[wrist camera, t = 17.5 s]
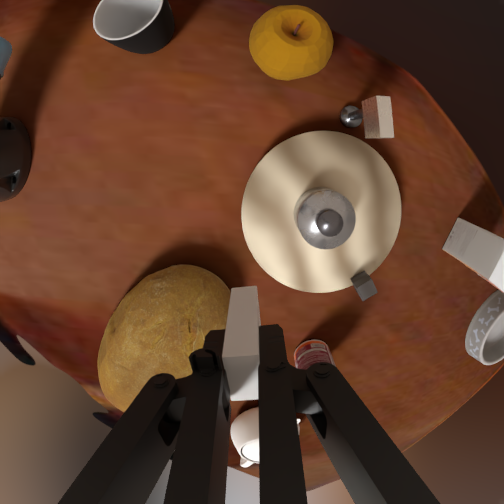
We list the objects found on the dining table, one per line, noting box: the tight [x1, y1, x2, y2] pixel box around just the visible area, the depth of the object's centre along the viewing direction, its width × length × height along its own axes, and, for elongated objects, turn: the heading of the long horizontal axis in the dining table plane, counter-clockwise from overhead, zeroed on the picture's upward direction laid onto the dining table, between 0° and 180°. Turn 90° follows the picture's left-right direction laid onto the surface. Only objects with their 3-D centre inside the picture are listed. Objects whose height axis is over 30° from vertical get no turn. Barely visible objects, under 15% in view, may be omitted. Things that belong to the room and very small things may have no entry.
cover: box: [294, 187, 356, 249], centre depth 35 cm, size 7×7×6 cm
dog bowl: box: [465, 290, 504, 365], centre depth 46 cm, size 17×18×5 cm
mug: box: [93, 0, 174, 54], centre depth 27 cm, size 12×9×10 cm
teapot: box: [231, 407, 301, 467], centre depth 50 cm, size 22×14×11 cm, turn 154°
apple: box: [249, 5, 334, 80], centre depth 28 cm, size 10×10×12 cm
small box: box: [442, 217, 504, 293], centre depth 36 cm, size 8×6×13 cm
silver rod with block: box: [339, 96, 394, 138], centre depth 31 cm, size 3×5×12 cm, turn 6°
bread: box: [98, 265, 231, 412], centre depth 44 cm, size 18×35×10 cm, turn 149°
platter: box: [241, 131, 401, 301], centre depth 37 cm, size 22×23×4 cm
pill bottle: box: [294, 339, 336, 370], centre depth 43 cm, size 6×6×11 cm
